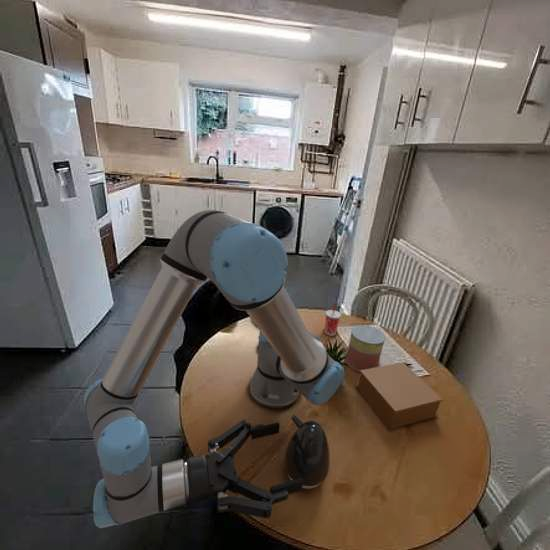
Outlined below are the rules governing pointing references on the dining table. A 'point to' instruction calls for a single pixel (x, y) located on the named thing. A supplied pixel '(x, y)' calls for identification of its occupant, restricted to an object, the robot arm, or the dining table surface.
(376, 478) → the dining table surface
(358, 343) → the canned food
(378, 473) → the dining table surface
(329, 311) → the beverage cup
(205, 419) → the dining table surface
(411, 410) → the takeaway box
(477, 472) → the dining table surface
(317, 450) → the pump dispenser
